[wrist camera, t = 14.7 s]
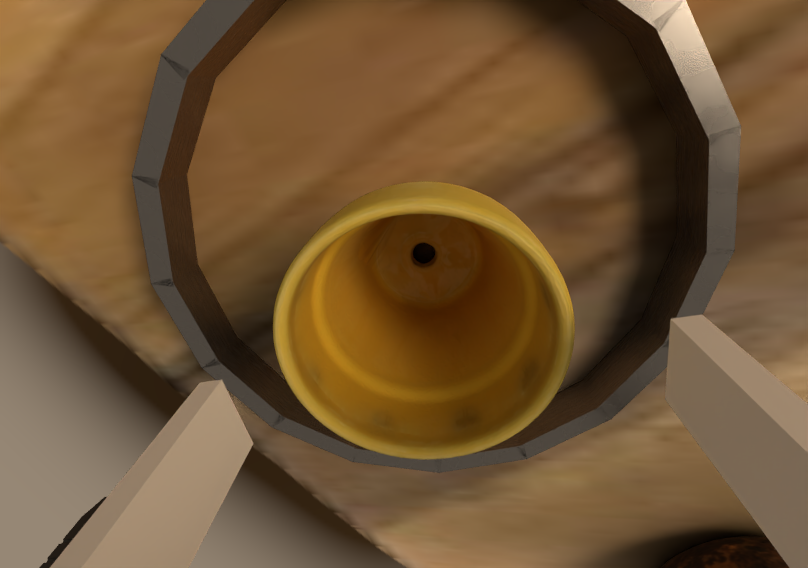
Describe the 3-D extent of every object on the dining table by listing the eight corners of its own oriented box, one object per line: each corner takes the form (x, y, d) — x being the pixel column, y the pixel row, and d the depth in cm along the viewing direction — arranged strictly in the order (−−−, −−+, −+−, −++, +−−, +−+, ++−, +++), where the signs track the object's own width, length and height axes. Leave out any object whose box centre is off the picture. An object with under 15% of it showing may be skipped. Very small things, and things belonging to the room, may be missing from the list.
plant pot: (295, 209, 22) (205, 288, 13) (473, 114, 19) (509, 132, 11) (386, 354, 26) (363, 491, 17) (546, 290, 23) (618, 412, 14)
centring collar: (280, -263, 14) (252, -328, 12) (838, 146, 19) (893, 154, 17) (119, 326, 26) (90, 349, 24) (493, 492, 31) (499, 524, 28)
